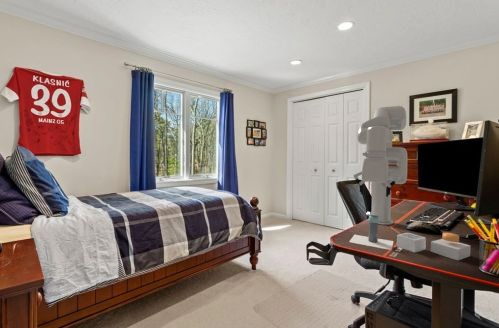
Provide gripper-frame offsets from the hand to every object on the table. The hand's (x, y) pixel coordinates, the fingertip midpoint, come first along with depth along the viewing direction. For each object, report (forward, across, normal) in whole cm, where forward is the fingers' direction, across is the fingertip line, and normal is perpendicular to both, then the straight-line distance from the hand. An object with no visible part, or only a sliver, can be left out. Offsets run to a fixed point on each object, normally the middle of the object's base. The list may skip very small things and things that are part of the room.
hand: (374, 195), depth 109 cm
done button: (+15, +26, +2) cm, 30 cm away
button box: (+20, +26, +2) cm, 33 cm away
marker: (+20, 0, 0) cm, 20 cm away
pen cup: (+20, +14, 0) cm, 25 cm away
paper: (+20, -1, -1) cm, 20 cm away
